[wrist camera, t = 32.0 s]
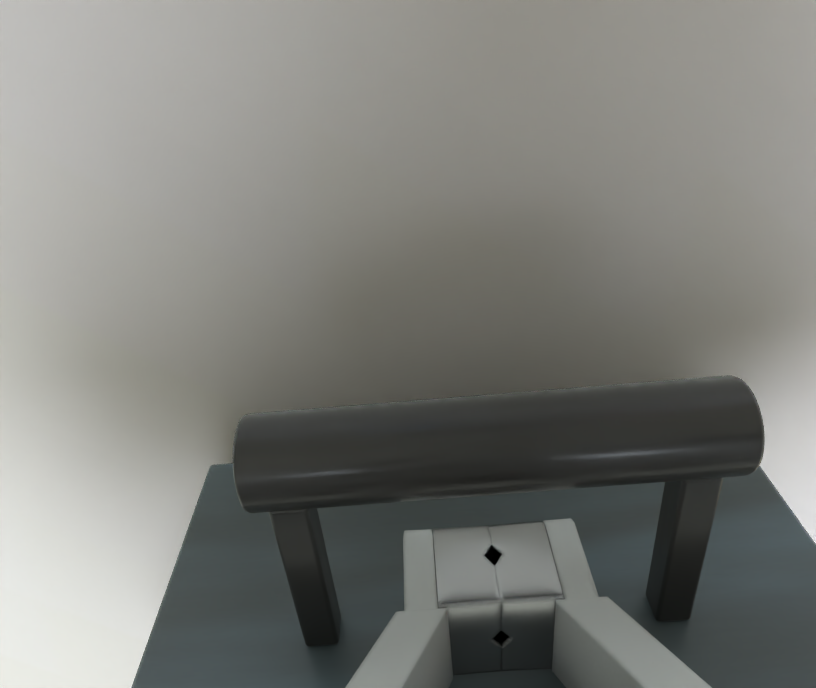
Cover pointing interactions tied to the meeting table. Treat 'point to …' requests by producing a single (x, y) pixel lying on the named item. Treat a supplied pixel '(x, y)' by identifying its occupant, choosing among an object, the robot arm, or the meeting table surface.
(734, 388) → the drawer
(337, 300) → the meeting table surface
